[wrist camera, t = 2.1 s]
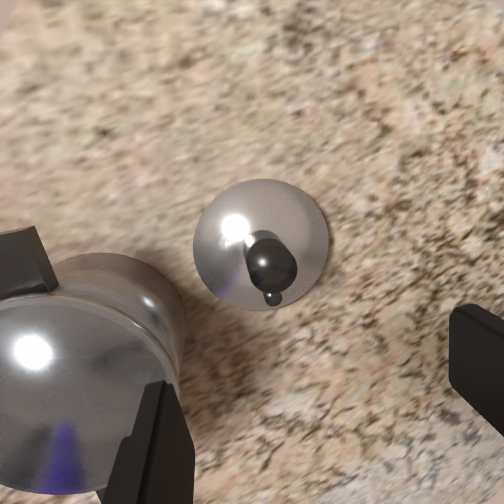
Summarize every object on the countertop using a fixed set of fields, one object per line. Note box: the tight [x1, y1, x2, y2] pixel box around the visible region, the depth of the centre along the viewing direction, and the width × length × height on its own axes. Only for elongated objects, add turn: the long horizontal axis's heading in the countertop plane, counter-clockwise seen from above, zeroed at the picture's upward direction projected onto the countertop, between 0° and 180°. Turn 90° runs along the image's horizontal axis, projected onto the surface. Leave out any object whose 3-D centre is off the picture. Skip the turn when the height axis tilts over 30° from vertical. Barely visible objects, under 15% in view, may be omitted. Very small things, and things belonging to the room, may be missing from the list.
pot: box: [0, 226, 187, 503], centre depth 22 cm, size 14×20×9 cm
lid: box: [193, 179, 329, 311], centre depth 23 cm, size 11×11×6 cm
